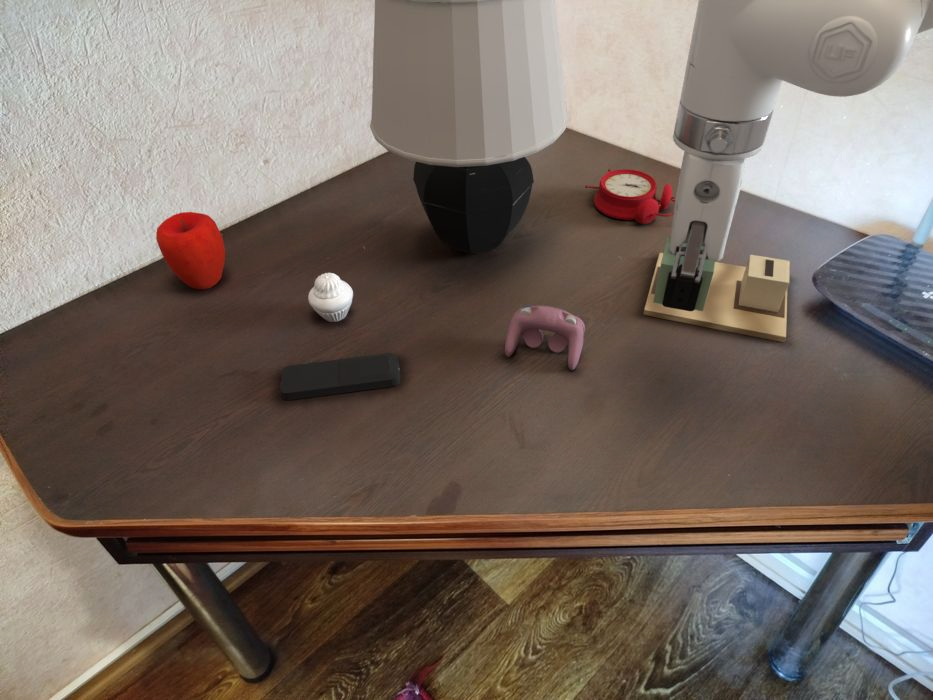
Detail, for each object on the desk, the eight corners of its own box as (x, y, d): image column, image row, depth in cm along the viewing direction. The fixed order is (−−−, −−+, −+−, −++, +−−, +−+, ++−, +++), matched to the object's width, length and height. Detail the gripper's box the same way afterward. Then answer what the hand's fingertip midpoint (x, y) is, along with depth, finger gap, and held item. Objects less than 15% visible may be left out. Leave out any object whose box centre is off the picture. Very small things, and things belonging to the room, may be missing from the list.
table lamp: (357, 241, 104) (303, -41, 76) (485, 184, 115) (478, -79, 87) (459, 324, 88) (438, 7, 60) (596, 248, 99) (630, -48, 72)
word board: (785, 279, 92) (788, 273, 91) (783, 342, 83) (786, 336, 82) (658, 257, 97) (659, 251, 96) (643, 315, 88) (644, 308, 87)
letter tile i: (707, 282, 68) (717, 242, 65) (702, 311, 65) (714, 271, 62) (659, 274, 70) (667, 235, 66) (653, 302, 66) (661, 262, 63)
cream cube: (778, 290, 88) (790, 260, 85) (777, 312, 85) (789, 282, 82) (740, 283, 90) (750, 253, 86) (738, 305, 87) (748, 275, 83)
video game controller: (581, 362, 84) (590, 311, 81) (576, 373, 80) (585, 319, 77) (509, 347, 86) (516, 297, 84) (500, 357, 82) (507, 305, 80)
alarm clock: (611, 161, 111) (693, 168, 102) (614, 195, 115) (693, 204, 105) (577, 186, 106) (660, 195, 96) (581, 220, 110) (662, 233, 100)
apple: (248, 272, 99) (227, 212, 91) (207, 305, 93) (180, 243, 86) (206, 258, 102) (182, 198, 95) (164, 289, 97) (135, 228, 89)
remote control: (281, 404, 79) (401, 385, 80) (277, 394, 78) (399, 375, 79) (284, 376, 83) (399, 358, 83) (280, 366, 82) (396, 348, 82)
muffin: (354, 328, 88) (345, 288, 83) (310, 330, 88) (299, 290, 84) (359, 299, 93) (351, 260, 88) (317, 301, 93) (306, 262, 88)
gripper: (765, 178, 48) (711, 351, 61) (769, 89, 59) (723, 251, 72) (663, 165, 50) (632, 335, 63) (686, 82, 61) (655, 240, 74)
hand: (681, 289), depth 67 cm, fingers closed on letter tile i, 5 cm apart
